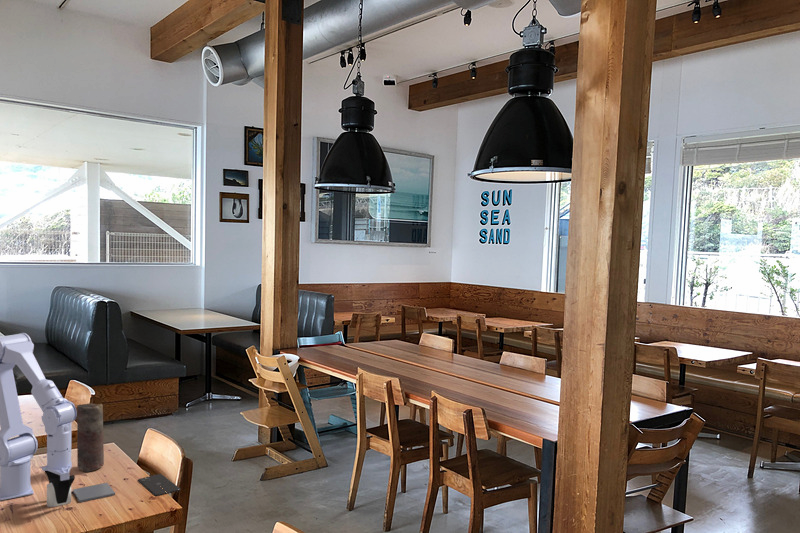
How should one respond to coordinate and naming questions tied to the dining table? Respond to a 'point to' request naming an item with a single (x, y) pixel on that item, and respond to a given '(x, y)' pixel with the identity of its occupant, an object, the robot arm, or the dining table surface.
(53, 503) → the charger plug
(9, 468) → the robot arm
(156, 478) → the smartphone
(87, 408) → the candle
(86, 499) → the slate coaster
